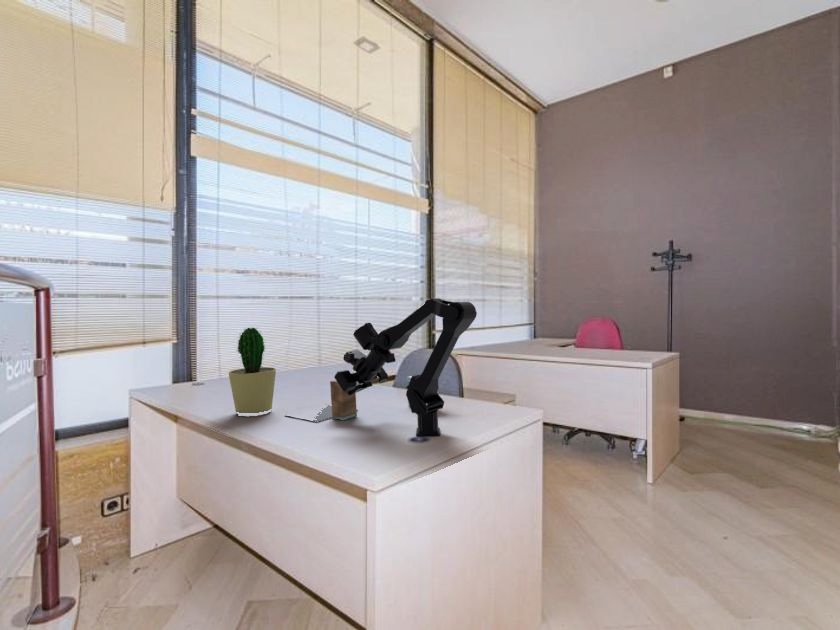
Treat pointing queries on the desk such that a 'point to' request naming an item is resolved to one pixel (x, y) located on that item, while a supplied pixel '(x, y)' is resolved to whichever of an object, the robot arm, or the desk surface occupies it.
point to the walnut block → (342, 402)
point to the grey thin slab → (325, 414)
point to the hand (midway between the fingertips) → (349, 394)
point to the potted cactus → (252, 376)
